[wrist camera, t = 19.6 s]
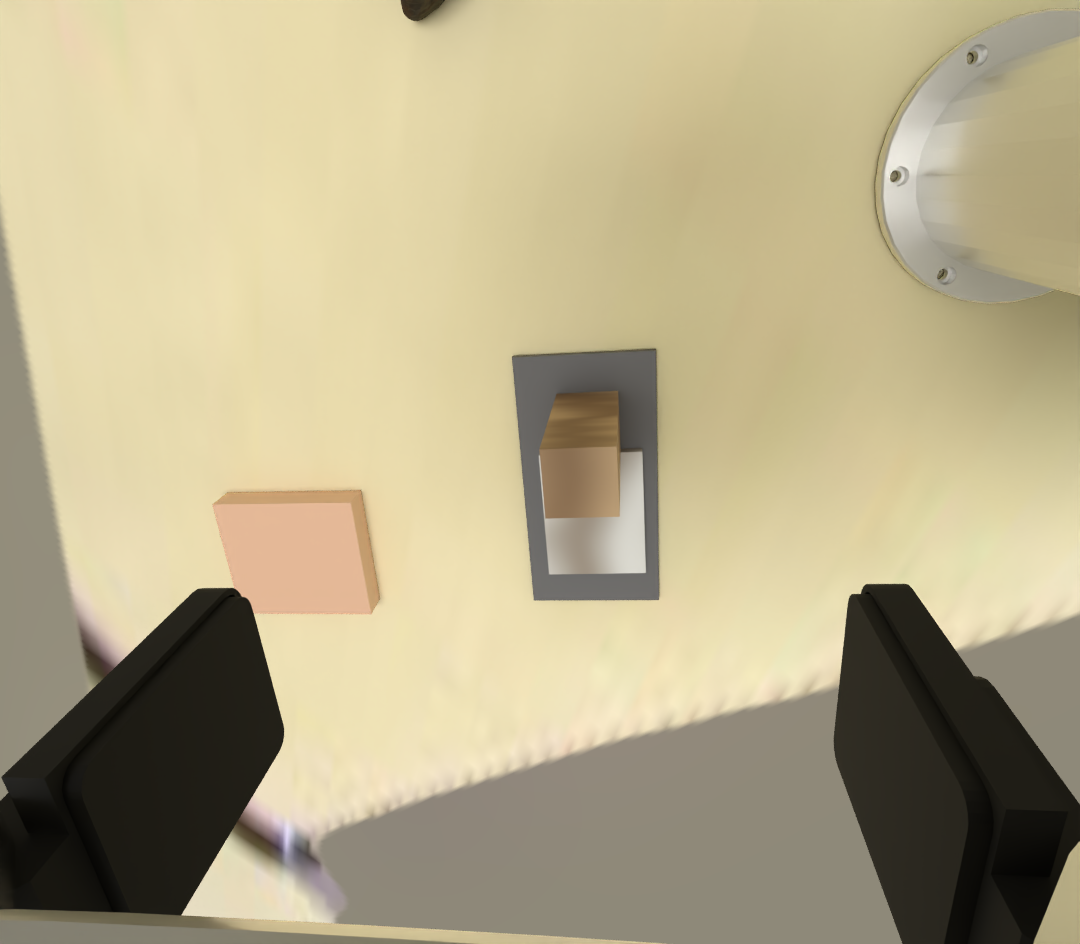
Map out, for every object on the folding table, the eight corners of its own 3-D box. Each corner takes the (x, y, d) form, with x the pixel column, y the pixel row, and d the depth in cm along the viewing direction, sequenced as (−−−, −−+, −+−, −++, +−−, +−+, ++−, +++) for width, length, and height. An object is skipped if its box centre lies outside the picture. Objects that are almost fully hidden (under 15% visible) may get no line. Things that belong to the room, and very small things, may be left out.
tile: (350, 502, 43) (371, 614, 46) (363, 487, 45) (381, 595, 48) (212, 504, 44) (241, 613, 47) (230, 489, 46) (257, 594, 49)
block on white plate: (640, 389, 40) (644, 445, 31) (645, 568, 44) (650, 658, 36) (534, 394, 41) (512, 450, 32) (550, 569, 45) (533, 658, 37)
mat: (655, 348, 39) (655, 350, 39) (658, 596, 45) (658, 599, 45) (513, 355, 40) (512, 357, 40) (534, 597, 46) (533, 600, 46)
